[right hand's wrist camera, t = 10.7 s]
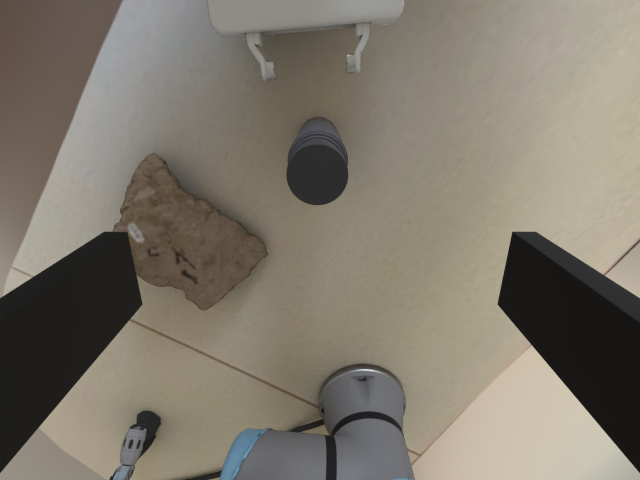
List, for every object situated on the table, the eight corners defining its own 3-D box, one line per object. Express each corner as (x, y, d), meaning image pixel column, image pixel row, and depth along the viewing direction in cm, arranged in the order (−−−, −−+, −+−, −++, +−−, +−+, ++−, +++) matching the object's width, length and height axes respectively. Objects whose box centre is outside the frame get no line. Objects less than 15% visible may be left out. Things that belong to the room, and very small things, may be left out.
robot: (146, 464, 73) (87, 591, 54) (122, 457, 72) (53, 583, 54) (173, 394, 66) (116, 510, 48) (147, 385, 66) (78, 500, 47)
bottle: (345, 134, 50) (367, 169, 27) (321, 164, 52) (322, 221, 28) (315, 108, 49) (312, 121, 26) (291, 140, 50) (267, 179, 27)
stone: (85, 229, 51) (70, 242, 46) (153, 148, 51) (147, 152, 45) (209, 307, 60) (209, 326, 54) (269, 239, 59) (275, 251, 54)
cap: (358, 166, 28) (360, 171, 27) (321, 209, 30) (321, 216, 28) (313, 128, 27) (312, 130, 26) (277, 174, 29) (274, 179, 27)
